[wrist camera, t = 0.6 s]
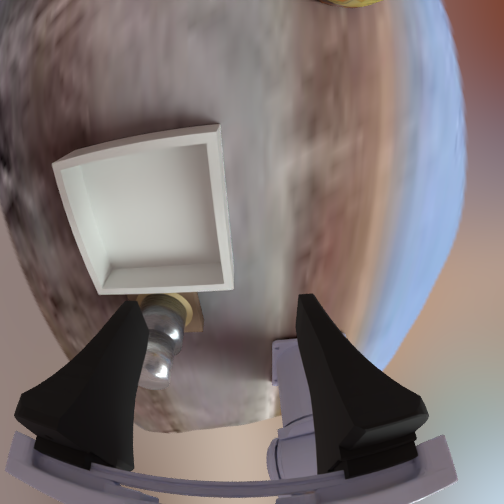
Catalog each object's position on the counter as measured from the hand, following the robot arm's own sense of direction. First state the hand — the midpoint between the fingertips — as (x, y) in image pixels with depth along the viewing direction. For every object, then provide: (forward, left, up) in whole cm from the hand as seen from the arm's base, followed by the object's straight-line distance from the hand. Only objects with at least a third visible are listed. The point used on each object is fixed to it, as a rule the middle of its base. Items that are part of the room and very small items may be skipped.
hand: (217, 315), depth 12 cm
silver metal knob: (-8, +6, -8) cm, 13 cm away
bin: (+1, +5, -10) cm, 11 cm away
